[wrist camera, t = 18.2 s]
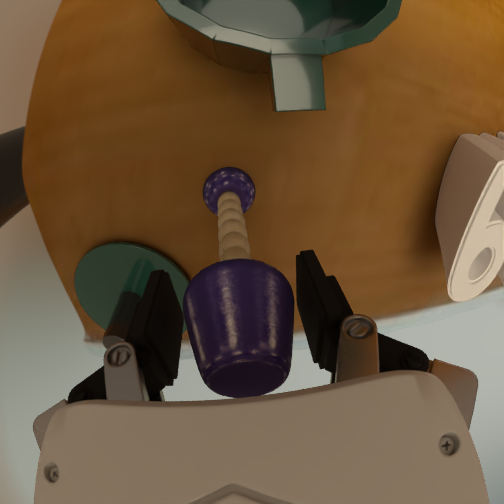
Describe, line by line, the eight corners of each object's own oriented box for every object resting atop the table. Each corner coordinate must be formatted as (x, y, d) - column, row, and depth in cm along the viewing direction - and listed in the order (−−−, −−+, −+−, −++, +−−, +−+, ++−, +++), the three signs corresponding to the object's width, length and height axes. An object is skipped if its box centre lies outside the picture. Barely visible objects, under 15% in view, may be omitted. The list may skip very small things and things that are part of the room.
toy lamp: (269, 180, 22) (342, 350, 8) (247, 228, 24) (274, 414, 10) (213, 159, 21) (186, 318, 6) (194, 210, 23) (157, 397, 9)
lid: (108, 338, 31) (93, 383, 25) (59, 249, 23) (26, 292, 17) (208, 332, 31) (207, 384, 25) (178, 227, 23) (163, 277, 17)
